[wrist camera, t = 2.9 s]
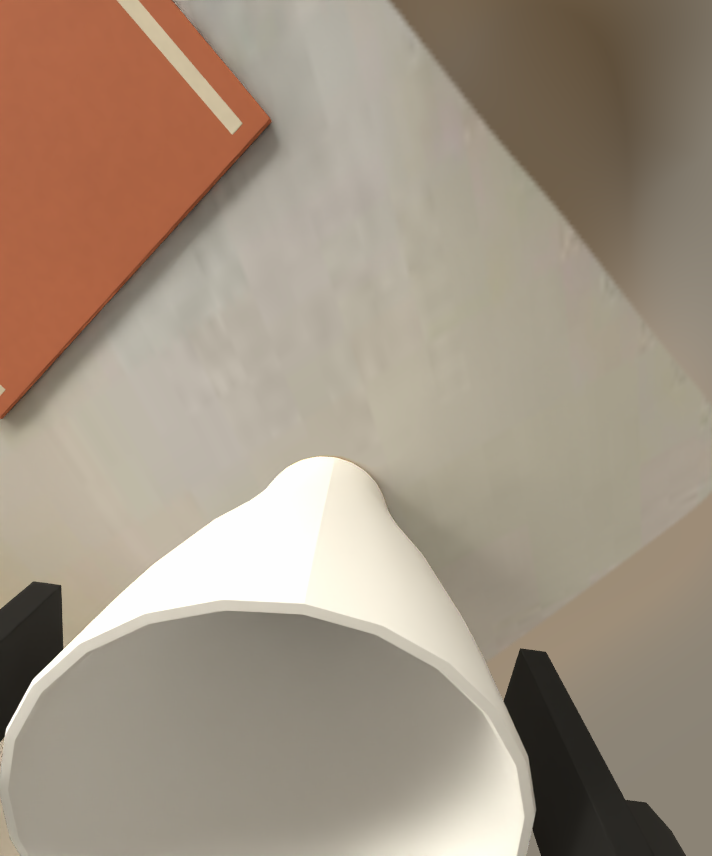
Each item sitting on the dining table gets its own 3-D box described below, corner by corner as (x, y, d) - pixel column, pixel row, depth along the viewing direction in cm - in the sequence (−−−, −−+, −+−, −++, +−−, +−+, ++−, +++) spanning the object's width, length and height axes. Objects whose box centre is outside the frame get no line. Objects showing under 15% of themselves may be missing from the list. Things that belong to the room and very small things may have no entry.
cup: (210, 587, 23) (4, 959, 10) (229, 391, 20) (-21, 547, 7) (407, 619, 23) (464, 1021, 10) (454, 431, 20) (615, 651, 7)
